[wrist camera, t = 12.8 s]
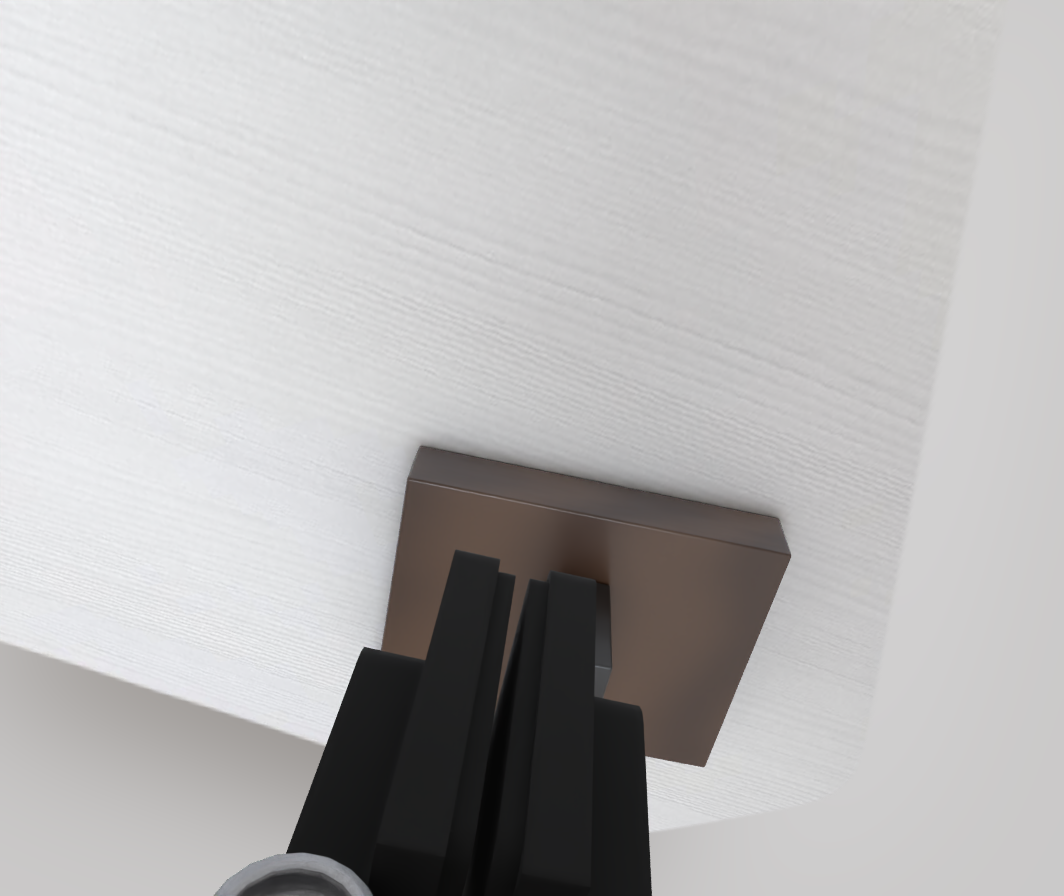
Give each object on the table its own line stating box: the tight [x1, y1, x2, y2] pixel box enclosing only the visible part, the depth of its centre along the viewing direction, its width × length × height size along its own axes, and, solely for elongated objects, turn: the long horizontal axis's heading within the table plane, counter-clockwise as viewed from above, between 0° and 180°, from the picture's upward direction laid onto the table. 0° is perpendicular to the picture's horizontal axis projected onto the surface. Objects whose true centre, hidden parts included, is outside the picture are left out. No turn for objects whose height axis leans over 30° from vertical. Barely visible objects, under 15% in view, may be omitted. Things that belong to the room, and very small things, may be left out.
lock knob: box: [594, 583, 612, 698], centre depth 32 cm, size 6×2×5 cm, turn 169°
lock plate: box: [381, 446, 791, 767], centre depth 36 cm, size 14×11×2 cm
